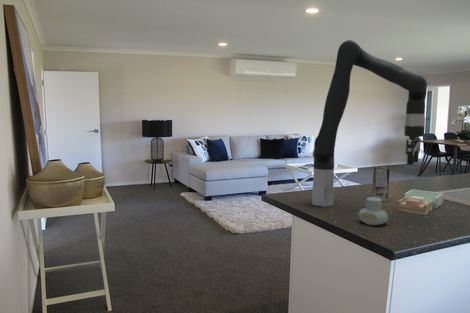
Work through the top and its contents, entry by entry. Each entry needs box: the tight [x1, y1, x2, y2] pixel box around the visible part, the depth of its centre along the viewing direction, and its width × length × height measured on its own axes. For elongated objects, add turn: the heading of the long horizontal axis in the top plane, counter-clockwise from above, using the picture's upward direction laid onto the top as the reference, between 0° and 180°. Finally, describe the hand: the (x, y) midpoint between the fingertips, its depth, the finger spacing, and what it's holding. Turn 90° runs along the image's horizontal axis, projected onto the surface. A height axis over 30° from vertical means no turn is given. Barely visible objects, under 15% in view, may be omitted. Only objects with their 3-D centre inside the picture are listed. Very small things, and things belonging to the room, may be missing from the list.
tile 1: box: [406, 198, 421, 207], centre depth 167 cm, size 5×5×2 cm
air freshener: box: [358, 196, 389, 226], centre depth 149 cm, size 11×8×10 cm
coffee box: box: [371, 166, 391, 203], centre depth 188 cm, size 9×6×16 cm
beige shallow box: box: [395, 196, 435, 216], centre depth 170 cm, size 14×12×4 cm
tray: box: [403, 188, 444, 210], centre depth 181 cm, size 13×14×5 cm
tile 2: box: [411, 196, 425, 204], centre depth 172 cm, size 5×5×2 cm
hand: (412, 163), depth 159 cm, fingers open, 8 cm apart
